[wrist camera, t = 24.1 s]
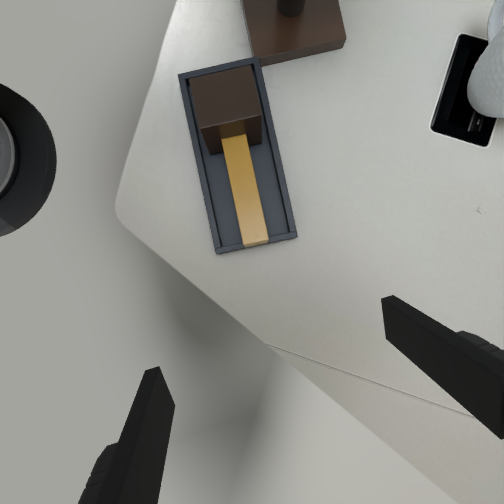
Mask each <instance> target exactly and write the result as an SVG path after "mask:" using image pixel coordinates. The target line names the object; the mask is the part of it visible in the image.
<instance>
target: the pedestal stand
mask: <svg viewBox="0 0 504 504" xmlns="http://www.w3.org/2000/svg"><path fill="white" fill-rule="evenodd" d="M240 1H241V6H242V10H243V15H244V19H245V24H246V29H247V33H248V38H249V42H250V47H251V52H252V56H253V57H256V56H259V61H260V65H261V66H265V65H270V64H274V63H278V62H283V61H287V60H291V59H296V58H300V57H305V56H309V55H313V54H318V53H322V52H326V51H331V50H335V49H340V48H343V45H344V43H345V40H346V34H345V29H344V25H343V20H342V16H341V11H340V7H339V2H338V0H240Z"/></svg>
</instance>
